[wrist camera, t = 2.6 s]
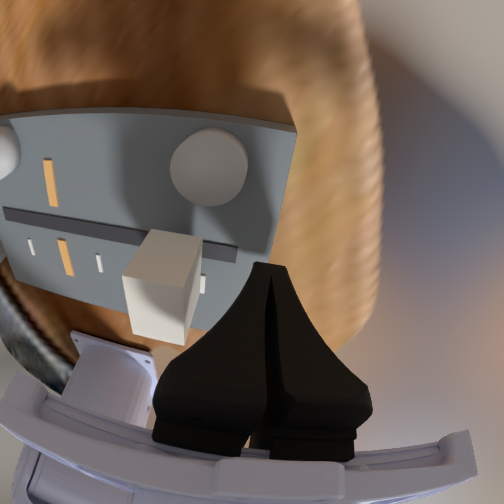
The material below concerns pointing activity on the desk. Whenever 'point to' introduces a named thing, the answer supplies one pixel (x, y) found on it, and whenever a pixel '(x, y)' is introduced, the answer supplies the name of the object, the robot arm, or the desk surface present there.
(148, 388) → the robot arm
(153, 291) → the fader tab
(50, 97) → the desk surface
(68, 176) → the console
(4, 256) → the skincare box
